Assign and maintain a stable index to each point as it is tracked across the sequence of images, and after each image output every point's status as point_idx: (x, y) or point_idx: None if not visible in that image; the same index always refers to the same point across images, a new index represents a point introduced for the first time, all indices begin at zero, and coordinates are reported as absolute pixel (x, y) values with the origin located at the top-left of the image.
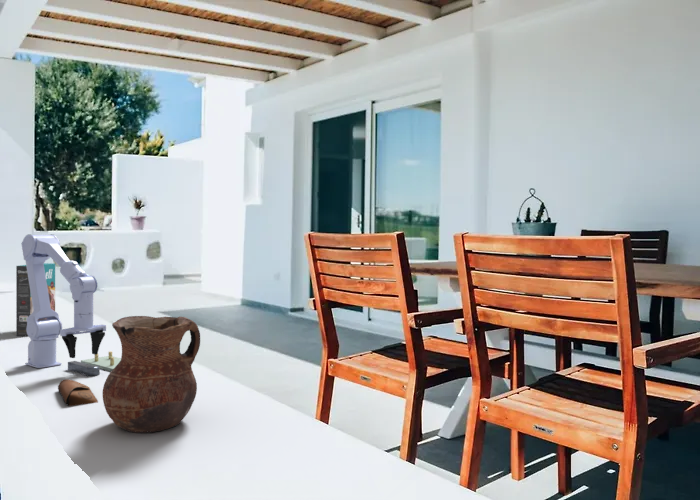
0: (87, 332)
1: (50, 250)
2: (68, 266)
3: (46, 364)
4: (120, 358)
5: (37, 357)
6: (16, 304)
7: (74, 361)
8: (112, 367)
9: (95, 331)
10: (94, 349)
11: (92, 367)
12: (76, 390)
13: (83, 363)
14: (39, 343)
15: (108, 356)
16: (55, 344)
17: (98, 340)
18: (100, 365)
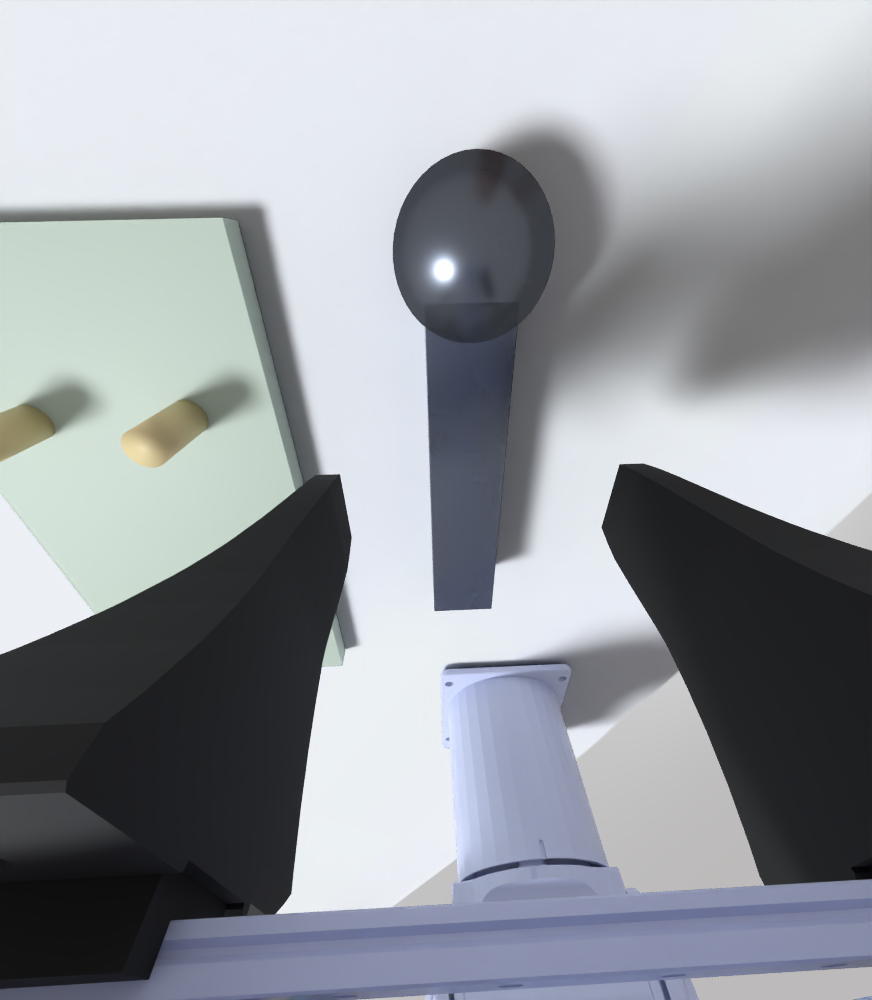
0: (468, 922)
1: None
2: None
3: (524, 681)
4: (77, 585)
5: (567, 737)
6: None
7: (450, 597)
8: (211, 304)
9: (169, 940)
10: (330, 538)
11: (491, 229)
12: None
13: (442, 498)
14: (595, 840)
15: None
16: (480, 816)
17: (229, 589)
18: (288, 472)
